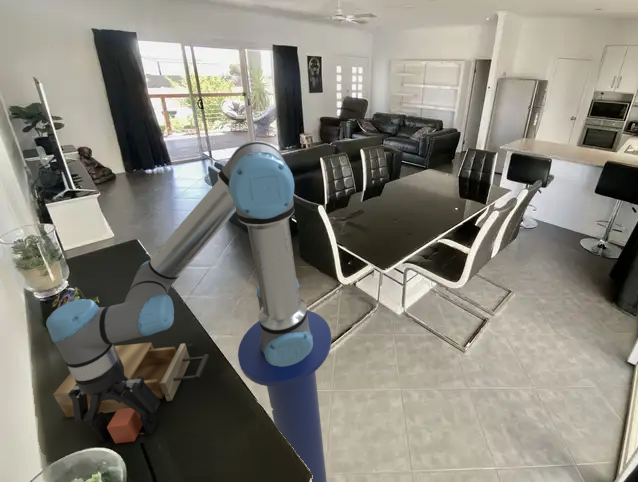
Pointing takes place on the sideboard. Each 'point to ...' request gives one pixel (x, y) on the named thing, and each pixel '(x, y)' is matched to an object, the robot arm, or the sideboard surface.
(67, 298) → the passion flower
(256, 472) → the sideboard surface
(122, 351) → the cabinet
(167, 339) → the sideboard surface
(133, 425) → the block
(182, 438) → the sideboard surface
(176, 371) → the drawer
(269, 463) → the sideboard surface
